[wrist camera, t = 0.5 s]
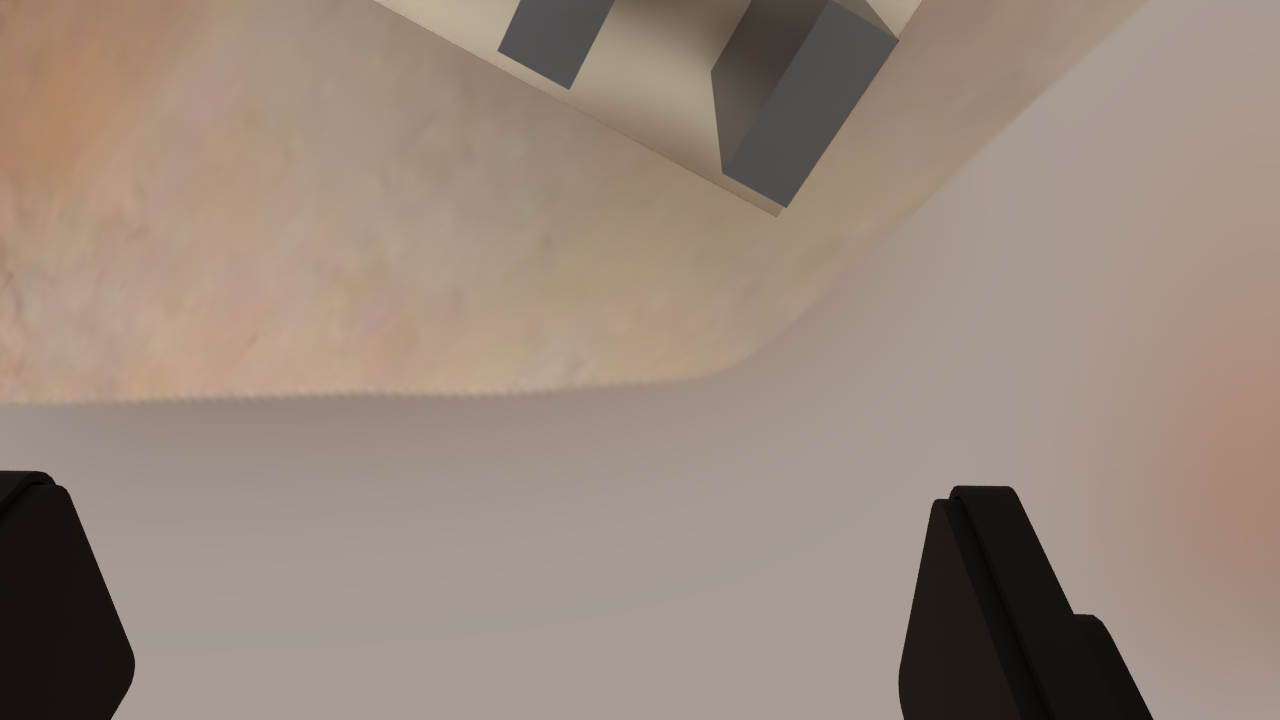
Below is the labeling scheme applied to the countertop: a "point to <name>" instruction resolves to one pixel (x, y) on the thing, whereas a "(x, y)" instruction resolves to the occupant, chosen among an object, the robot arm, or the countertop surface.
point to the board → (633, 68)
